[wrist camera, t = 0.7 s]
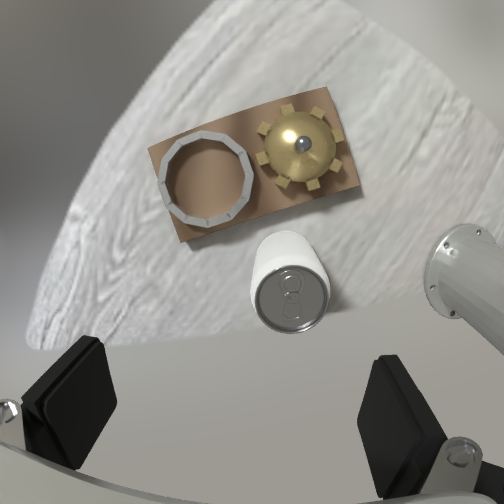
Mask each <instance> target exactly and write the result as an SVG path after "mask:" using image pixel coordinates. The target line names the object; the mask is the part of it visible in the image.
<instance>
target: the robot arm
mask: <svg viewBox="0 0 504 504" xmlns="http://www.w3.org/2000/svg"><path fill="white" fill-rule="evenodd" d="M424 285H425V292H426V296H427V299H428V301H429V303H430V305H431V306H432V307H433V308H434V310H436V311H437V312H438V313H439V314H440V315H442V316H444V317H446V318H450V319H458V318H463V319H464V320H465V321H467V322H468V323H469V324H470V325H471V326H472V327H473V328H475V329H476V330H477V331H478V332H479V333H480V334H481V335H482V336H483V337H484V338H486V339H487V340H488V341H489V342H490V343H491V344H492V345H494V347H495V348H496V349H498V350H499V351H500V352H501V353H502V354H503V355H504V247H502V246H499V245H497V244H496V242H495V240H494V238H493V237H492V235H491V234H490V233H489V232H488V231H487V230H486V229H484V228H482V227H480V226H477V225H474V224H461V225H459V226H456V227H454V228H452V229H451V230H449V231H448V232H447V233H445V234H444V235H443V236H442V237H441V238H440V240H439V241H438V242H437V244H436V245H435V247H434V248H433V250H432V252H431V254H430V257H429V259H428V262H427V266H426V270H425V278H424ZM21 399H22V401H23V403H22V404H21V405H19V403H18V402H16V401H14V400H11V399H1V400H0V504H208V503H200V502H193V501H187V500H181V499H176V498H170V497H165V496H160V495H155V494H151V493H147V492H142V491H139V490H134V489H131V488H127V487H123V486H120V485H116V484H113V483H109V482H106V481H103V480H100V479H97V478H94V477H91V476H88V475H85V474H82V473H79V472H77V471H75V470H76V469H80V467H81V466H82V464H83V463H84V461H85V459H86V457H87V456H88V454H89V452H90V451H91V449H92V447H93V445H94V443H95V442H96V440H97V438H98V437H99V435H100V433H101V432H102V430H103V428H104V427H105V425H106V423H107V422H108V420H109V418H110V417H111V415H112V413H113V412H114V410H115V408H116V405H117V398H116V394H115V391H114V387H113V383H112V379H111V375H110V371H109V366H108V362H107V357H106V353H105V348H104V344H103V343H102V342H100V340H99V339H98V338H97V337H91V336H86V335H83V336H82V337H81V338H80V339H79V340H78V341H77V342H75V343H74V344H73V345H72V346H71V347H70V348H69V349H68V350H67V351H66V352H65V353H64V354H63V355H62V356H61V357H60V358H59V359H58V360H57V361H56V362H55V363H54V364H53V365H52V366H51V367H50V368H49V369H48V370H47V371H46V372H45V373H44V374H43V375H42V376H41V377H40V378H39V379H38V380H37V382H36V383H34V385H33V386H32V387H31V388H30V389H29V390H28V391H27V392H26V393H25V394H24V395H23V396H22V397H21ZM357 425H358V429H359V432H360V435H361V439H362V442H363V446H364V449H365V452H366V456H367V459H368V463H369V466H370V470H371V474H372V477H373V481H374V484H375V488H376V492H377V495H378V497H379V498H382V497H383V500H381V501H374V502H367V503H360V504H504V468H502V467H499V466H496V465H493V464H490V463H487V462H484V461H482V456H483V453H482V450H481V448H480V447H479V445H478V444H477V443H476V442H474V441H473V440H471V439H469V438H466V437H453V438H450V439H448V438H447V436H446V435H445V433H444V431H443V429H442V428H441V426H440V424H439V422H438V421H437V419H436V417H435V416H434V414H433V412H432V410H431V409H430V407H429V405H428V404H427V402H426V400H425V399H424V397H423V395H422V393H421V392H420V391H419V390H418V388H417V386H416V385H415V383H414V382H413V380H412V378H411V377H410V375H409V373H408V372H407V370H406V368H405V367H404V365H403V364H402V362H401V361H400V359H399V357H398V356H397V355H381V356H380V357H379V358H378V360H374V363H373V365H372V370H371V373H370V377H369V380H368V384H367V388H366V391H365V395H364V398H363V401H362V405H361V408H360V411H359V414H358V418H357Z"/></svg>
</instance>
